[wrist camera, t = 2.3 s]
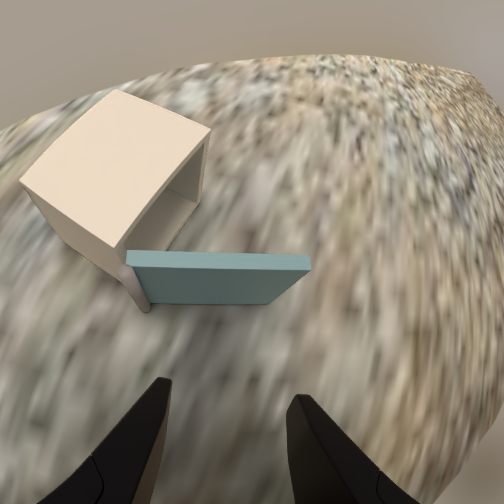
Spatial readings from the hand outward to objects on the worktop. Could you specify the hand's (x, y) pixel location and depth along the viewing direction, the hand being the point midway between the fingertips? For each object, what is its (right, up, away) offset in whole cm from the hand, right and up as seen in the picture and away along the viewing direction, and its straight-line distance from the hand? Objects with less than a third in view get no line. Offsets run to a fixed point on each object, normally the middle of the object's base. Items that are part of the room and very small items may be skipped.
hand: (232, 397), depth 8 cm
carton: (-9, +7, +14) cm, 18 cm away
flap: (-3, 0, +13) cm, 14 cm away
